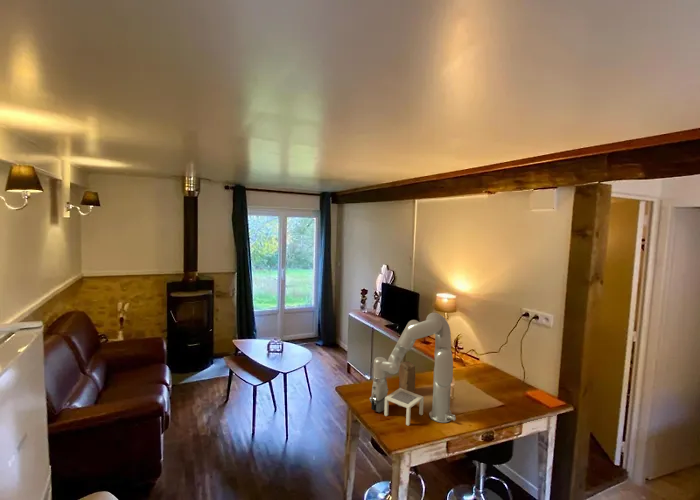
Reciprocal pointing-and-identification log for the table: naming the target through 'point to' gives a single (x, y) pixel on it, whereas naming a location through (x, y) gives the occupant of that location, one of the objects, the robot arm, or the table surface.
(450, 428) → the table surface
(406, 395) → the trapdoor
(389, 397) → the frame
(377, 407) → the stone
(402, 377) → the block
